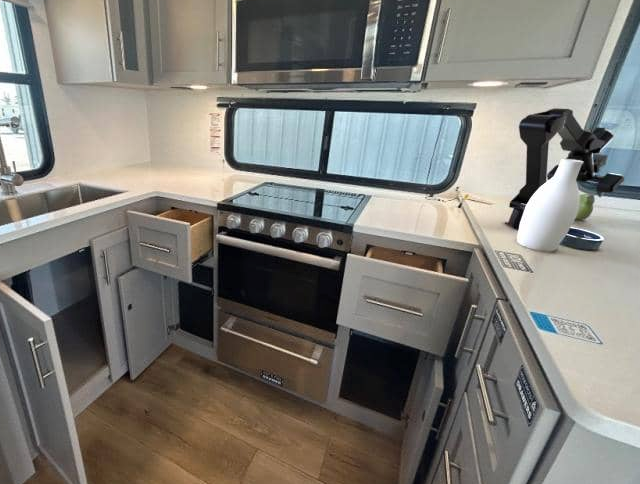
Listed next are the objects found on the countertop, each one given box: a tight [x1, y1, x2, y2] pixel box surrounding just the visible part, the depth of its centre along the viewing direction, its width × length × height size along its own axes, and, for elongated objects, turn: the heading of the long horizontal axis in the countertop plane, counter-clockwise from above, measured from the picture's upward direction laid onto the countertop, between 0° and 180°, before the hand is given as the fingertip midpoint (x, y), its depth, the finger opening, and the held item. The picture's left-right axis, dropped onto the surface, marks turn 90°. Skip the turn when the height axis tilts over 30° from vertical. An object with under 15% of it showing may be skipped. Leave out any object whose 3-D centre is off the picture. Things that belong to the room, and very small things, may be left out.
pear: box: [575, 193, 596, 221], centre depth 123 cm, size 6×5×10 cm
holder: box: [559, 226, 605, 251], centre depth 101 cm, size 11×11×4 cm
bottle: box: [516, 158, 584, 253], centre depth 94 cm, size 11×11×25 cm
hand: (584, 192), depth 120 cm, fingers open, 9 cm apart
